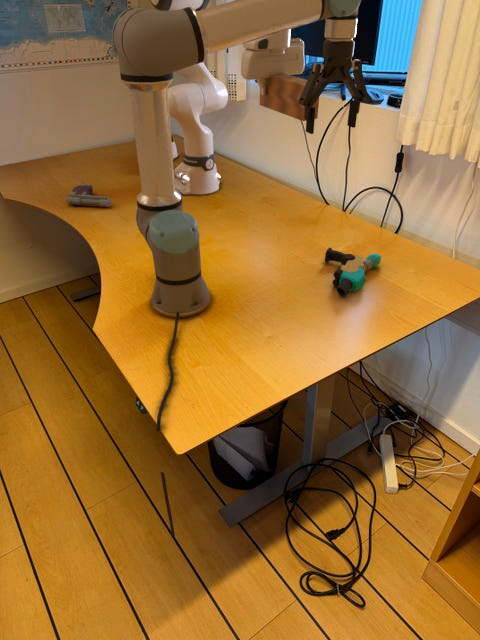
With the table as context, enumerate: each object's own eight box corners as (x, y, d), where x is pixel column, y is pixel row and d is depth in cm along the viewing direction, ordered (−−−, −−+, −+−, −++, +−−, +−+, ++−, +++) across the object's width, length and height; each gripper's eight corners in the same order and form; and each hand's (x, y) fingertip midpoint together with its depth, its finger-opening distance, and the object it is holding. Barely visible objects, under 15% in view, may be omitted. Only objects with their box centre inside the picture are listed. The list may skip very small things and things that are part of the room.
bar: (317, 118, 132) (320, 83, 127) (302, 121, 130) (305, 85, 125) (273, 103, 147) (274, 71, 142) (259, 105, 145) (260, 72, 140)
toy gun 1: (124, 195, 187) (108, 210, 175) (80, 192, 190) (61, 206, 178) (122, 185, 185) (106, 200, 173) (78, 182, 188) (59, 197, 176)
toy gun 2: (303, 277, 126) (358, 291, 120) (334, 239, 144) (384, 250, 139) (302, 292, 128) (356, 306, 123) (333, 252, 147) (381, 263, 141)
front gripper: (370, 35, 124) (359, 121, 136) (287, 41, 115) (284, 132, 128) (389, 37, 118) (376, 126, 131) (304, 44, 110) (298, 138, 122)
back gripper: (297, 36, 140) (294, 87, 148) (237, 41, 132) (238, 95, 140) (310, 38, 135) (306, 91, 144) (249, 43, 127) (249, 99, 135)
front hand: (330, 129), depth 129 cm, fingers open, 13 cm apart
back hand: (272, 93), depth 142 cm, fingers closed on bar, 5 cm apart
